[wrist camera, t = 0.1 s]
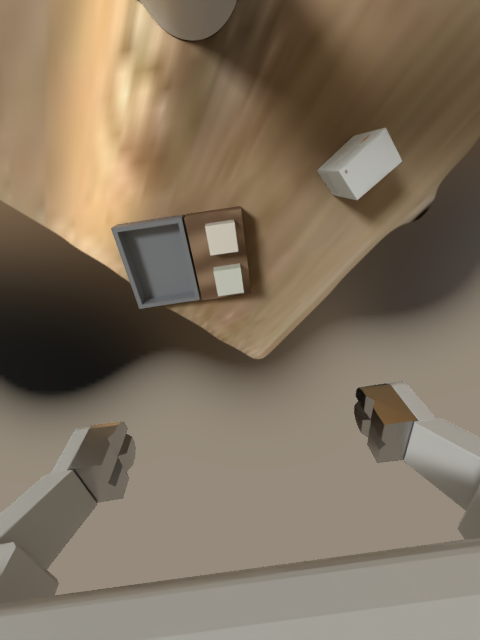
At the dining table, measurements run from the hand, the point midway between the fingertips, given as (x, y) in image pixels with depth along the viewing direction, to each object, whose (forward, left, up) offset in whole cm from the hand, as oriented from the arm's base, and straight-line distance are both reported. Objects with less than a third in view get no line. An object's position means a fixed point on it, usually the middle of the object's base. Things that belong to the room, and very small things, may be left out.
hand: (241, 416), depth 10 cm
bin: (+7, -14, -48) cm, 50 cm away
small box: (-5, +22, -48) cm, 53 cm away
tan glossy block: (+7, -2, -48) cm, 48 cm away
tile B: (+11, -1, -44) cm, 45 cm away
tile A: (+3, -1, -44) cm, 44 cm away
